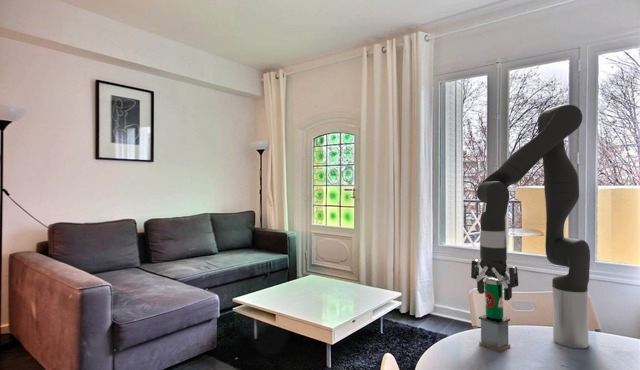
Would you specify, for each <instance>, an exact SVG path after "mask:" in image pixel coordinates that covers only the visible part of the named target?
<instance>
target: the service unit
mask: <svg viewBox="0 0 640 370" xmlns="http://www.w3.org/2000/svg"><path fill="white" fill-rule="evenodd" d="M478 319H479V320H480V341H478V344H479V346H480V347H481V346H482V347H484V348H486V349H489V350H492V351H493V352H497V353H501V352H503V351H505V350H507V349H509V348H511V343H510V342H509V322H511V318H508V317H506V316H504V317H503V318H502V319H501V320H492V319H489V318H488V317H487V316H486V314H484V315H481V316H478Z"/></svg>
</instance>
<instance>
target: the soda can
mask: <svg viewBox="0 0 640 370" xmlns="http://www.w3.org/2000/svg"><path fill="white" fill-rule="evenodd" d="M484 290H485V292H484V301H485V302H484V303H485V315H486V316H487V317H488V318H489V319H492V320H501V319H502V318H503V317H505V316H504V285H503V284H502V282H500V281H499V279H498V278H493V277H486V278H485V281H484Z"/></svg>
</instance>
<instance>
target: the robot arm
mask: <svg viewBox="0 0 640 370" xmlns="http://www.w3.org/2000/svg"><path fill="white" fill-rule="evenodd" d="M582 122H583V113H582V111H581V109H580V108H579V107H578V106H576V105H575V104H571V103H569V104H568V103H566V104H560V105H557V106H553V107H549V108H547V109H544V110H542V111H541V113H540V114H539V116H538V119H537V131H538V134H536V135H535V136H534V137H533V138H532V139H531V140H529V141H528V142H526V143H525V144H524V145H522V146H521V147H519V148H518V149H517V150H515V151H514V152H513V153H512V154H511V155H509V157H508V158H507V159H506V160H505V161H504V162H502V165H500V167H499V168H498V169H496V170H495V171H493V172H492V173H491V174H490V175H489V176H488V177H486V178H484V180H482V181H481V183H480V184H479V185H478V186H477V189H476V198H477V199H478V200H479V201H480V202H482V203H485V210H484V211H483V212H481V214H480V234H479V255H480V256H479V257H480V260H479V259H474V260H472V261H471V268H470V269H471V270H470V271H471V273H470V278H471V279H473V280H475V281H476V286H477V287H476V289H477V292H478V294H481V295H482V294H485V281H484V280H486V278H498V279H499V281H500V282H502V284H503V301H507V302H508V301H510V300H511V299H512V297H513V288H516V287H518V286H519V274H518V267H517V266H516V265H514V266H508V264H507V260H508V259H507V258H508V256H507V255H508V253H507V252H508V251H507V249H508V248H507V233H506V216H507V215H506V214H507V211H508V207H509V201H510V192H509V189H508V187H510V186H512V185H515V184H517V183H519V182H520V181H521V180H522V179H523V178H524V177H525V176H526V175H527V174H528V173H529V171H531V169H532V168H534V166H536V164H537V163H538V162H539V161H540V160H541V159H542V167H543V185H544V189H543V190H544V199H545V214H546V215H545V218H546V223H545V225H546V228H545V256H546V259H547V260H548V262H549V263H550V264H552V265H556V266H560V267H567V268H568V272H567V274H565V275H559V276H554V277H553V278H552V282H551V284H552V285H551V286H552V329H553V330H552V339H553V341H554V342H555V343H557V344H559V345H561V346H564V347H567V348H572V349H587V348H589V301H588V300H589V298H588V295H589V294H588V291H589V289H588V287H589V286H588V285H589V283H590V265H591V251H590V246H589V244H588V242H587V241H586V240H584V239H581V238H572V237H565V232H564V231H565V224H566V223H565V222H566V221H567V218H568V216H569V215H570V213H571V211H573V209H574V208H575V206H576V204H577V203H578V201H579V198H580V183H579V175H578V172H577V170H576V168H575V166H574V165H573V163H572V161H571V159H570V158H569V156H568V155H567V151H566V147H565V139H566V138H567V137H569V136H571V135H572V133H574V132H575V131H576V130H578V129H579V127H580V126H581V124H582ZM480 268H481V269H482V270H481V271H480ZM506 272H507V273H508V274H507V273H506ZM508 275H509V276H508Z"/></svg>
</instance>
